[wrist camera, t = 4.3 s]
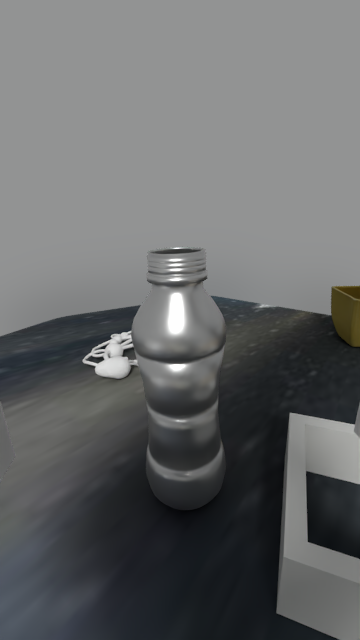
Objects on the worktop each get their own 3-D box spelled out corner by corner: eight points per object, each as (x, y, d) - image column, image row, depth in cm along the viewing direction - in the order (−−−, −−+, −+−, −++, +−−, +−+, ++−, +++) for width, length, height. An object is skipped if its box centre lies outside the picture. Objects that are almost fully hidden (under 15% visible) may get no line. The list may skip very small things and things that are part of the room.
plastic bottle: (241, 502, 24) (252, 250, 17) (162, 539, 21) (138, 262, 14) (204, 448, 29) (201, 242, 22) (138, 472, 27) (113, 250, 20)
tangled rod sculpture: (108, 339, 59) (104, 320, 58) (178, 332, 59) (176, 312, 57) (75, 392, 41) (68, 365, 40) (176, 381, 40) (173, 354, 39)
